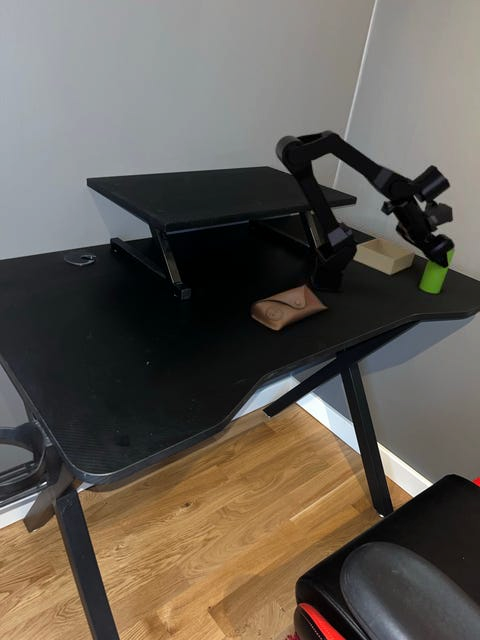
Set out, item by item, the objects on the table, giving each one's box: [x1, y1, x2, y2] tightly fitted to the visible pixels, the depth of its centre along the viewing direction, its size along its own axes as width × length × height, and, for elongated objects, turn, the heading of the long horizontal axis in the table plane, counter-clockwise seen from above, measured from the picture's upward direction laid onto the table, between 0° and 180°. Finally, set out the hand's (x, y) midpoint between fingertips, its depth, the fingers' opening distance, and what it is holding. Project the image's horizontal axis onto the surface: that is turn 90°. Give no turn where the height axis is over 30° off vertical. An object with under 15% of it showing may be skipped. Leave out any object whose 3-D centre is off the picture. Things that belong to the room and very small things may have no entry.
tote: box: [353, 237, 416, 276], centre depth 133 cm, size 12×12×4 cm
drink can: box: [419, 246, 456, 294], centre depth 118 cm, size 5×5×12 cm
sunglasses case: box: [250, 283, 328, 331], centre depth 101 cm, size 18×7×7 cm
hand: (436, 259), depth 117 cm, fingers open, 9 cm apart
